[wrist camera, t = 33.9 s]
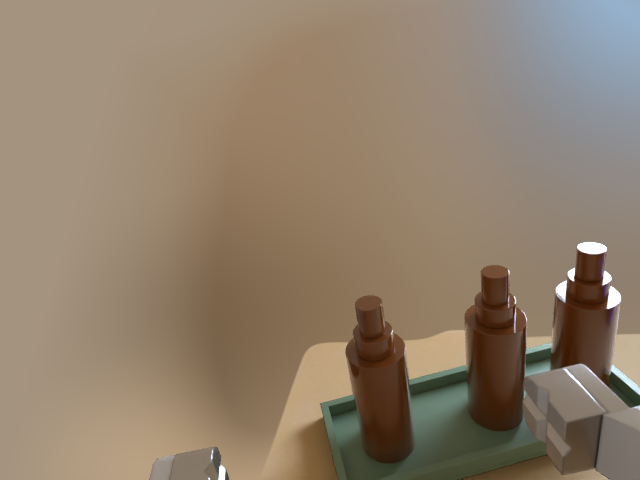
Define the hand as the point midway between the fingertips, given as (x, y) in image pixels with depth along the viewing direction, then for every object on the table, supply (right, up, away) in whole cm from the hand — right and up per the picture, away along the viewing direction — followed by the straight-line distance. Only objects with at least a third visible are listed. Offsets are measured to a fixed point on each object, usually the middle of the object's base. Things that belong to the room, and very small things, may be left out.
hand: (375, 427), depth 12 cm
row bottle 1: (+17, -13, +35) cm, 41 cm away
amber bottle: (+6, -16, +34) cm, 38 cm away
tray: (+15, -14, +35) cm, 41 cm away
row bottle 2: (+26, -11, +36) cm, 46 cm away
